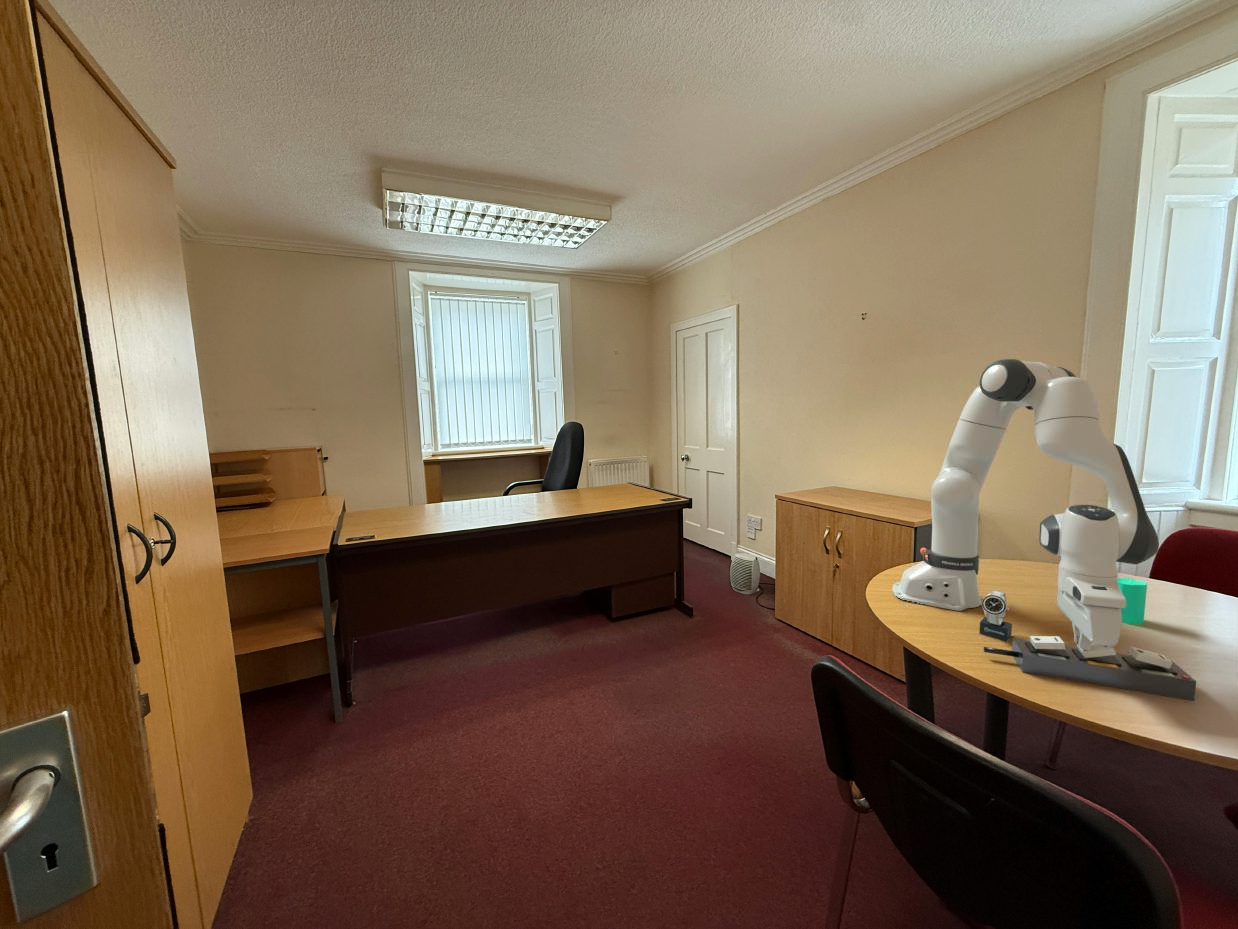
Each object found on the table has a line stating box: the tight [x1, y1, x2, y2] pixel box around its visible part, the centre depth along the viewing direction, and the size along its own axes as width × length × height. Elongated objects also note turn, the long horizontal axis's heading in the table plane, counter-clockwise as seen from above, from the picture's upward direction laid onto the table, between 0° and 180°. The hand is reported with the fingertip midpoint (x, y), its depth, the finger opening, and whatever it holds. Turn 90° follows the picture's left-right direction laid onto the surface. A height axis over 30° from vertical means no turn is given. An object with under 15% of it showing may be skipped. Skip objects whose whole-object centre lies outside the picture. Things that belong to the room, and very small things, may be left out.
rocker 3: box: [1128, 645, 1172, 669], centre depth 97 cm, size 5×3×2 cm, turn 63°
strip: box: [983, 637, 1197, 702], centre depth 102 cm, size 32×8×4 cm, turn 63°
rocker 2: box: [1076, 643, 1117, 658], centre depth 100 cm, size 5×3×2 cm, turn 63°
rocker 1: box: [1029, 635, 1066, 649], centre depth 104 cm, size 5×3×2 cm, turn 63°
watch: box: [978, 590, 1013, 642], centre depth 119 cm, size 6×8×11 cm
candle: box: [1118, 574, 1148, 626], centre depth 124 cm, size 6×6×12 cm
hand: (1082, 646), depth 101 cm, fingers closed
